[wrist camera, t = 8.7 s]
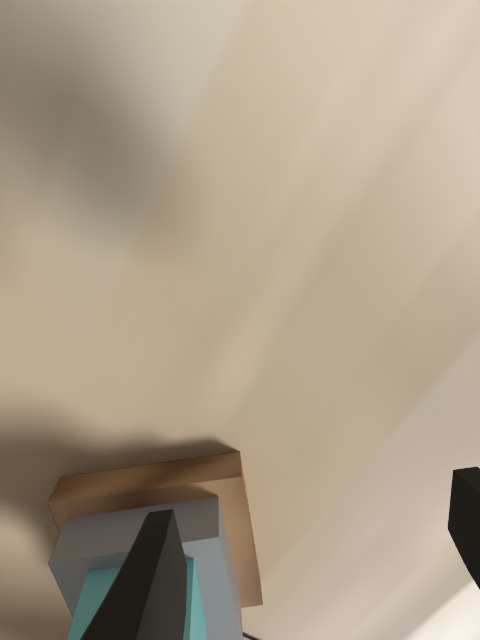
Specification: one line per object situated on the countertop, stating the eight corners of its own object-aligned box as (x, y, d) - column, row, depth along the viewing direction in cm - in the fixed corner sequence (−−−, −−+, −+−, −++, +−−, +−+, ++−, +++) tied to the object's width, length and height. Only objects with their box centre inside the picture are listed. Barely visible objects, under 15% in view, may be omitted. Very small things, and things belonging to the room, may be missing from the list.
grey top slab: (218, 495, 21) (218, 537, 19) (240, 597, 24) (242, 643, 22) (66, 518, 21) (48, 563, 19) (107, 617, 24) (95, 666, 22)
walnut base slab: (239, 444, 23) (241, 476, 21) (258, 566, 27) (262, 604, 24) (64, 468, 23) (47, 503, 21) (108, 587, 27) (98, 628, 24)
